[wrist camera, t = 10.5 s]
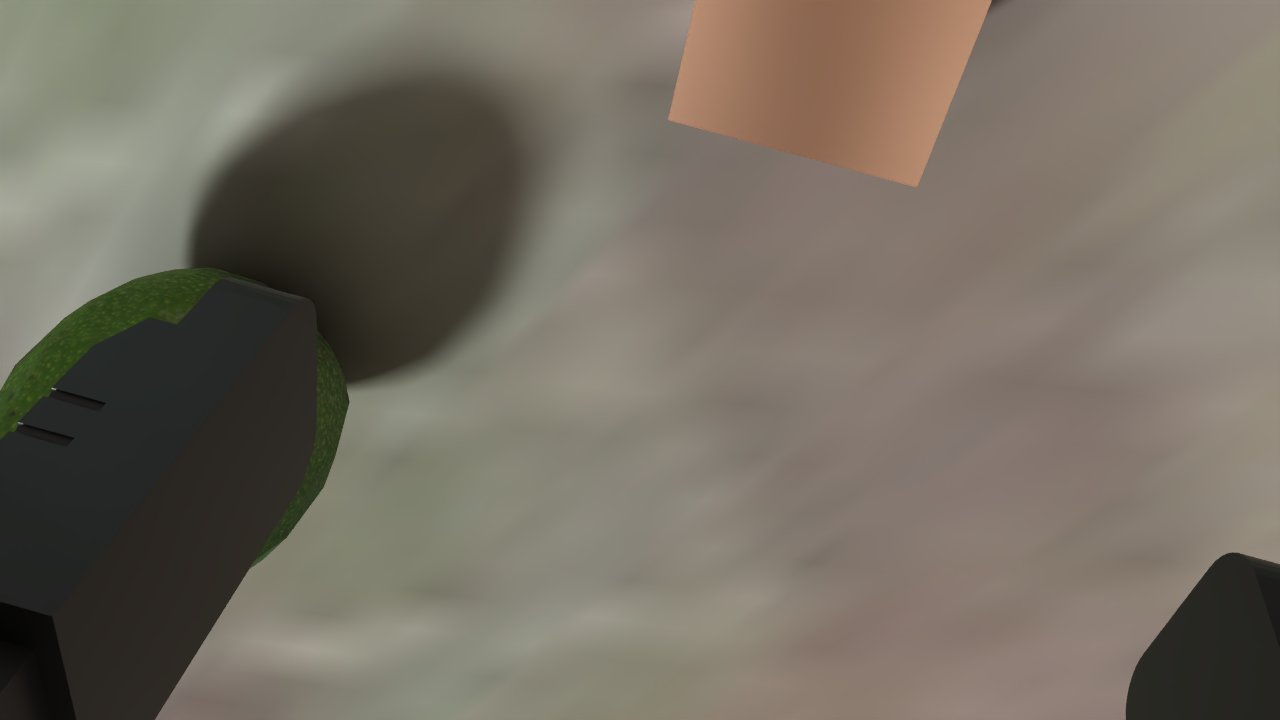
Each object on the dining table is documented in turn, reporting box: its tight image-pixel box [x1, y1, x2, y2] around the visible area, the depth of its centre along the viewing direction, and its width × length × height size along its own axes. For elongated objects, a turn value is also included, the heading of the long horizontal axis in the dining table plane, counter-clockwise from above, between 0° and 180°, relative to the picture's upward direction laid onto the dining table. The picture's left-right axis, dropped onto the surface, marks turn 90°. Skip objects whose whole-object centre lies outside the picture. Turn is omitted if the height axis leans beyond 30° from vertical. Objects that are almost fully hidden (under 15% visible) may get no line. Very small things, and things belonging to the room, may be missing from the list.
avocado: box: [0, 267, 349, 569], centre depth 28 cm, size 8×8×12 cm
